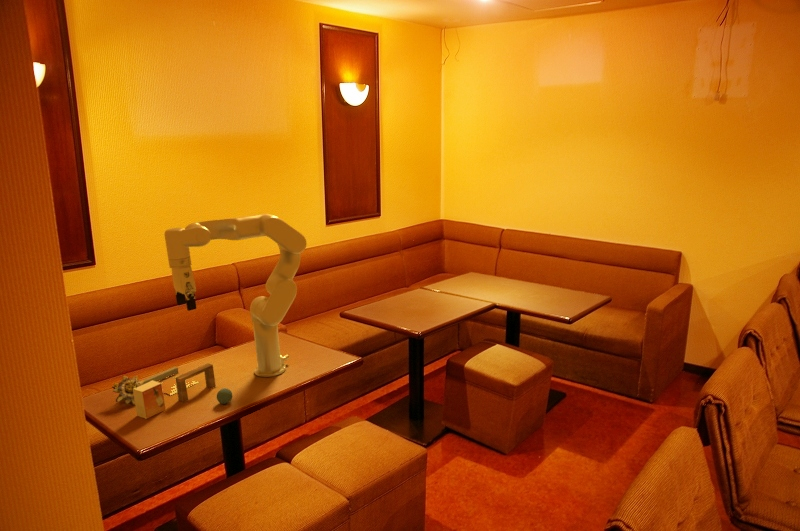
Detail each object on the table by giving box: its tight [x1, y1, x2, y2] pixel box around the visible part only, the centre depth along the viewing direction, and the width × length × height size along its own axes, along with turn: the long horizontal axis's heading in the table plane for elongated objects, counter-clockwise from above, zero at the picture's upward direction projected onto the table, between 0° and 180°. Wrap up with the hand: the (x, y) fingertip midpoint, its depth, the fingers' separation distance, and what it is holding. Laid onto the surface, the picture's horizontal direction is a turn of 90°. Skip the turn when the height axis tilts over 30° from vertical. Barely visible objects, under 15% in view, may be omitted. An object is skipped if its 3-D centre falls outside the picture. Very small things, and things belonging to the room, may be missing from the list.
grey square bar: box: [141, 366, 179, 384], centre depth 226 cm, size 16×2×2 cm, turn 146°
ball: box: [216, 388, 233, 405], centre depth 204 cm, size 6×6×6 cm
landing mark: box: [169, 380, 200, 397], centre depth 221 cm, size 13×13×1 cm
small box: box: [133, 380, 166, 420], centre depth 199 cm, size 8×6×10 cm
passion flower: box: [111, 375, 144, 406], centre depth 210 cm, size 11×11×12 cm
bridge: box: [174, 362, 216, 403], centre depth 213 cm, size 3×14×9 cm, turn 146°
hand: (186, 307), depth 208 cm, fingers open, 9 cm apart
